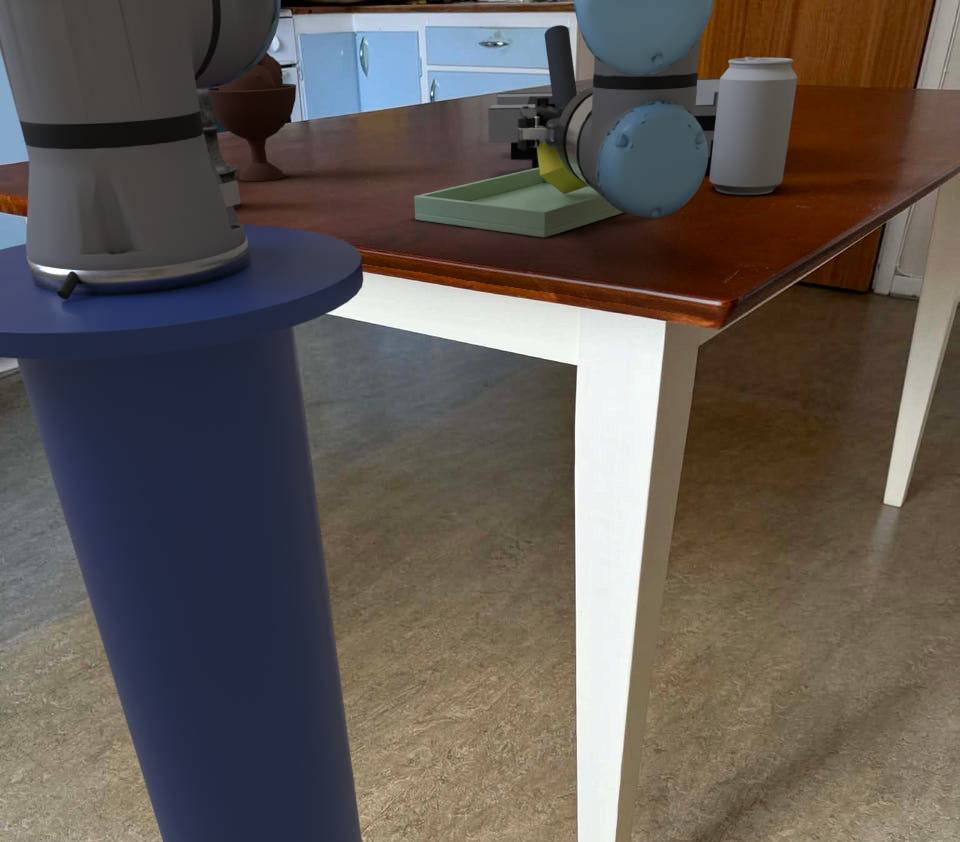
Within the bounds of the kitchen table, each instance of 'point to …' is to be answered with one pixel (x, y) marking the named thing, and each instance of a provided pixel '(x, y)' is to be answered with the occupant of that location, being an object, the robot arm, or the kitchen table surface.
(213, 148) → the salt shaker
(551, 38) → the sponge wand
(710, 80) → the game console
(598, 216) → the tray
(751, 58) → the can
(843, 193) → the kitchen table surface
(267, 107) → the ice cream bowl
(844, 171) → the kitchen table surface
